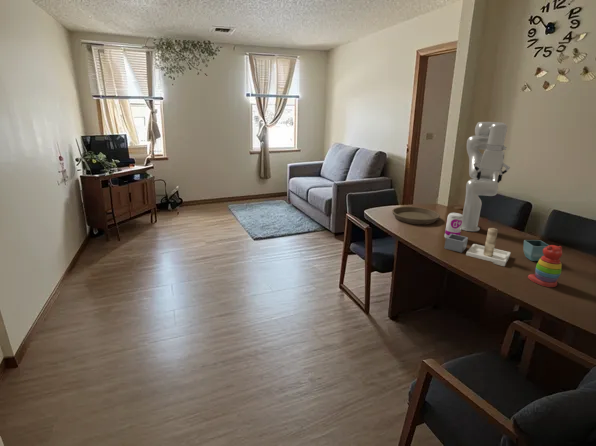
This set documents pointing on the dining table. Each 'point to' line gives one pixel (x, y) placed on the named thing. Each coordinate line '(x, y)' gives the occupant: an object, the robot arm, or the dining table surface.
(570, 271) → the dining table surface
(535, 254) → the flower pot
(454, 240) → the grey open box
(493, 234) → the birch peg
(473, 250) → the white tray
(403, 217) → the plant saucer
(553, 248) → the stacking bear
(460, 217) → the supplement can
